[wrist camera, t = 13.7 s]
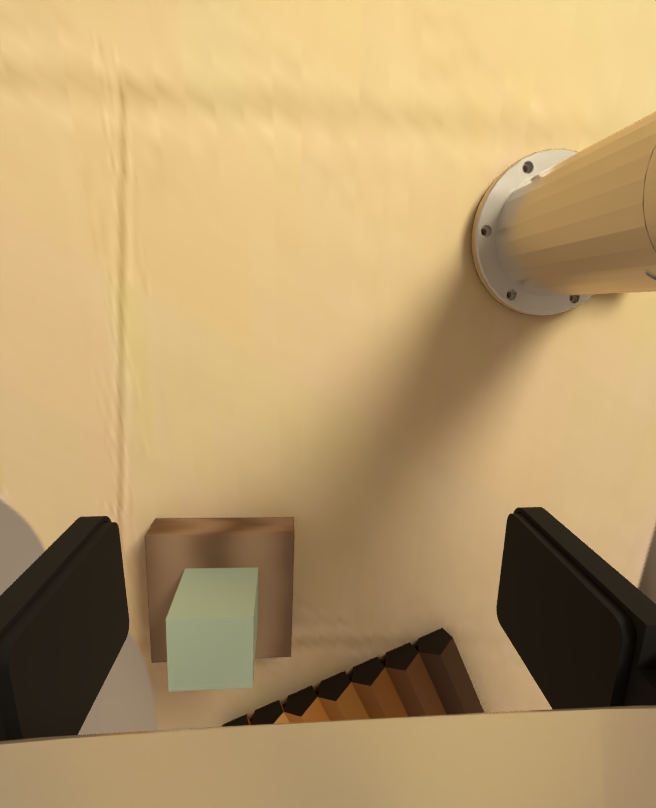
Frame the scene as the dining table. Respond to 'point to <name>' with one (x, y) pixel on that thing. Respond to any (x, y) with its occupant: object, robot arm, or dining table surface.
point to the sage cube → (213, 630)
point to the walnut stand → (224, 548)
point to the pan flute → (384, 688)
